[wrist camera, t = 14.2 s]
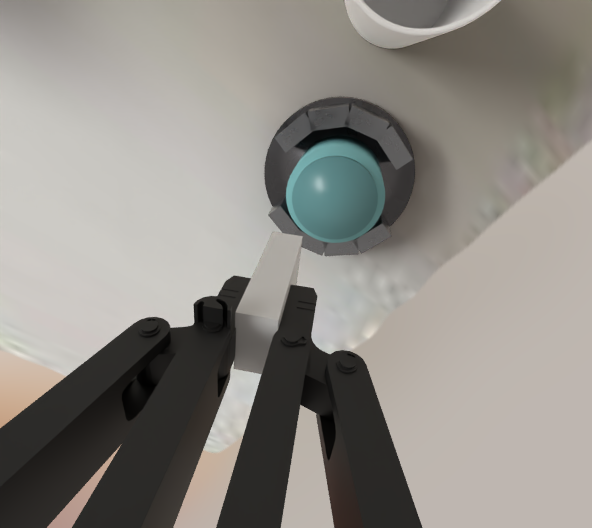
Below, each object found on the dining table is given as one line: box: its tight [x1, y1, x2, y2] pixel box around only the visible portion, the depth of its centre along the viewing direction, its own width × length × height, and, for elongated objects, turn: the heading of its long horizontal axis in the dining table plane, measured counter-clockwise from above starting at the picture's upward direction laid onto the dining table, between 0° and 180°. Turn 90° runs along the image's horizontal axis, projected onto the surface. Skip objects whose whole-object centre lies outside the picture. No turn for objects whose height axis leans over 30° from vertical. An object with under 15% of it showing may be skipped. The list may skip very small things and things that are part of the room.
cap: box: [286, 135, 385, 243], centre depth 31 cm, size 8×8×6 cm
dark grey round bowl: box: [265, 97, 415, 256], centre depth 33 cm, size 14×14×4 cm
